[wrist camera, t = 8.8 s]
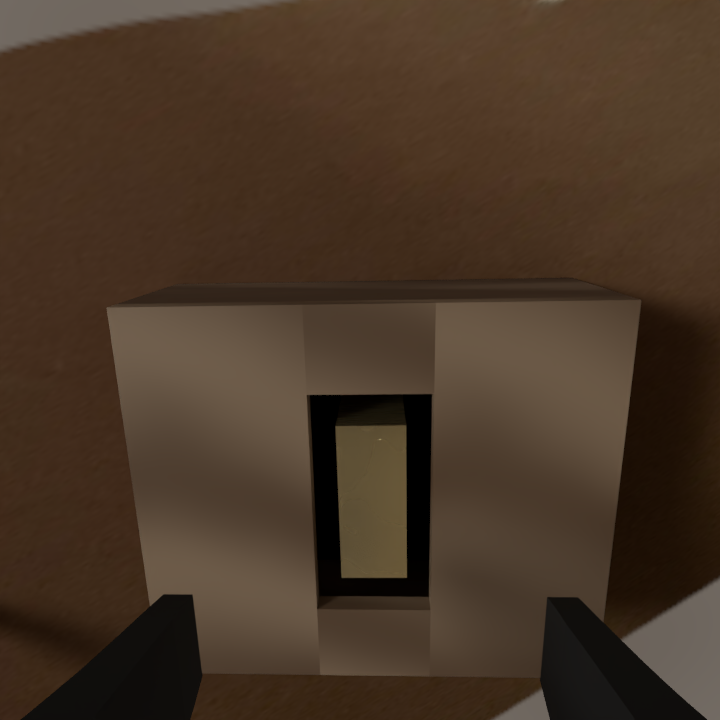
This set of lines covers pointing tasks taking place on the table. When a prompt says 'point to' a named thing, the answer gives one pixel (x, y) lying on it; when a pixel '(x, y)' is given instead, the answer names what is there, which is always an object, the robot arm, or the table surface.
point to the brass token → (372, 486)
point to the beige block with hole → (448, 464)
